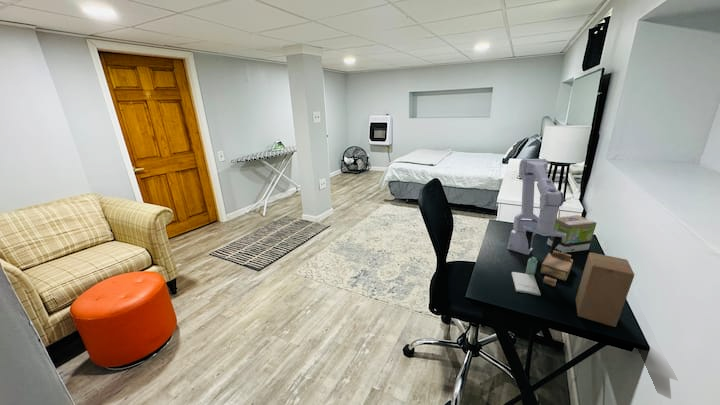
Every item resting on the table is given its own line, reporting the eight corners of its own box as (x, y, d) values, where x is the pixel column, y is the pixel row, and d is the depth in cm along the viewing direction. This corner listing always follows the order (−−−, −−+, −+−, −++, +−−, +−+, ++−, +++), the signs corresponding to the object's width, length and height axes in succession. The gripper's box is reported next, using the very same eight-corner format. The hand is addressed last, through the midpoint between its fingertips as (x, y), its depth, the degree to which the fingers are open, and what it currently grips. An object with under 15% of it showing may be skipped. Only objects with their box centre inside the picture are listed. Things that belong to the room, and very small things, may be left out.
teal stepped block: (524, 273, 119) (527, 259, 117) (527, 269, 122) (530, 255, 120) (532, 276, 117) (536, 262, 115) (535, 272, 120) (538, 258, 118)
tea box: (564, 254, 133) (571, 225, 128) (546, 244, 143) (552, 217, 138) (589, 250, 137) (597, 221, 132) (570, 240, 146) (577, 214, 141)
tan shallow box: (535, 279, 115) (537, 272, 114) (546, 261, 128) (548, 254, 127) (562, 289, 109) (564, 281, 108) (570, 268, 122) (572, 261, 121)
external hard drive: (533, 278, 117) (540, 297, 106) (511, 274, 120) (515, 292, 109) (534, 275, 117) (541, 293, 106) (511, 271, 119) (516, 289, 108)
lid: (541, 265, 119) (543, 259, 118) (548, 254, 127) (549, 248, 126) (567, 273, 113) (569, 267, 112) (572, 261, 121) (574, 255, 120)
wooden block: (616, 328, 90) (635, 274, 84) (577, 316, 95) (592, 265, 89) (610, 309, 98) (627, 259, 92) (575, 299, 103) (589, 251, 97)
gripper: (525, 220, 114) (519, 250, 118) (569, 228, 106) (561, 259, 111) (526, 214, 119) (520, 243, 124) (568, 221, 112) (560, 251, 117)
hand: (539, 250), depth 118 cm, fingers open, 7 cm apart
